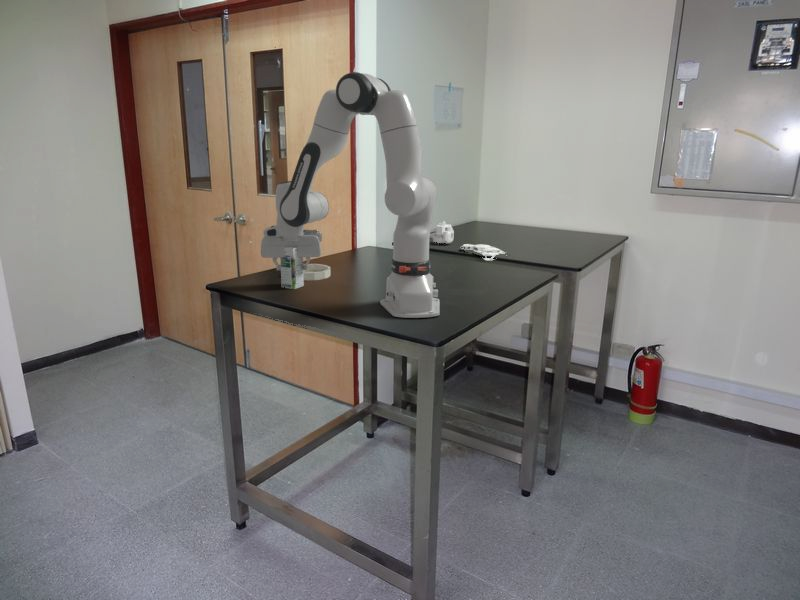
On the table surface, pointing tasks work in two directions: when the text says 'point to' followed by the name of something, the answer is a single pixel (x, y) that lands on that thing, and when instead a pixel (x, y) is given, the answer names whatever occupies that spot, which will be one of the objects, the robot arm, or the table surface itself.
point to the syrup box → (291, 269)
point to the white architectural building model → (484, 250)
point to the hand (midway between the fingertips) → (292, 269)
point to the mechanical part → (443, 233)
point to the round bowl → (316, 272)
